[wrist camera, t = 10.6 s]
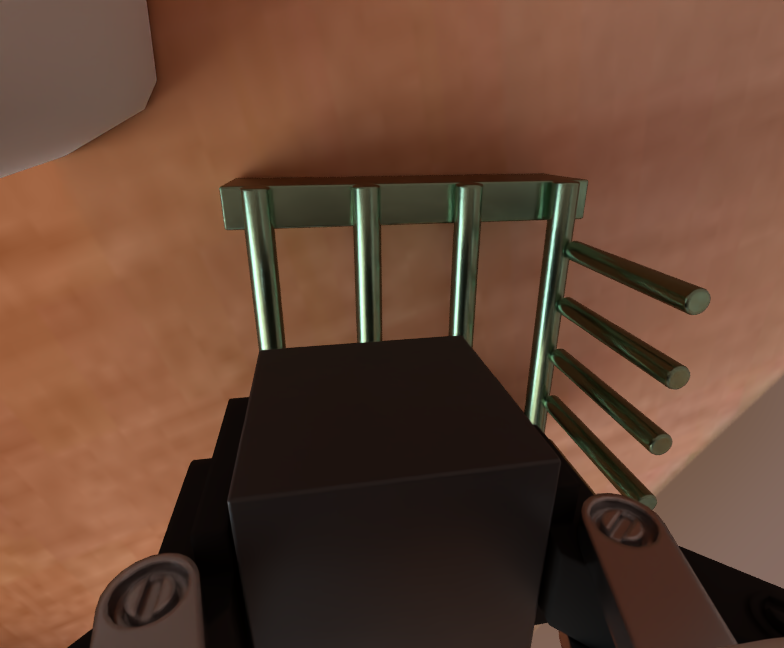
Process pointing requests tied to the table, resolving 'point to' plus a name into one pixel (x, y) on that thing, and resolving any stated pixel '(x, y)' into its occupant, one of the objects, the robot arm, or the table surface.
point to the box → (389, 500)
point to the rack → (473, 279)
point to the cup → (69, 74)
